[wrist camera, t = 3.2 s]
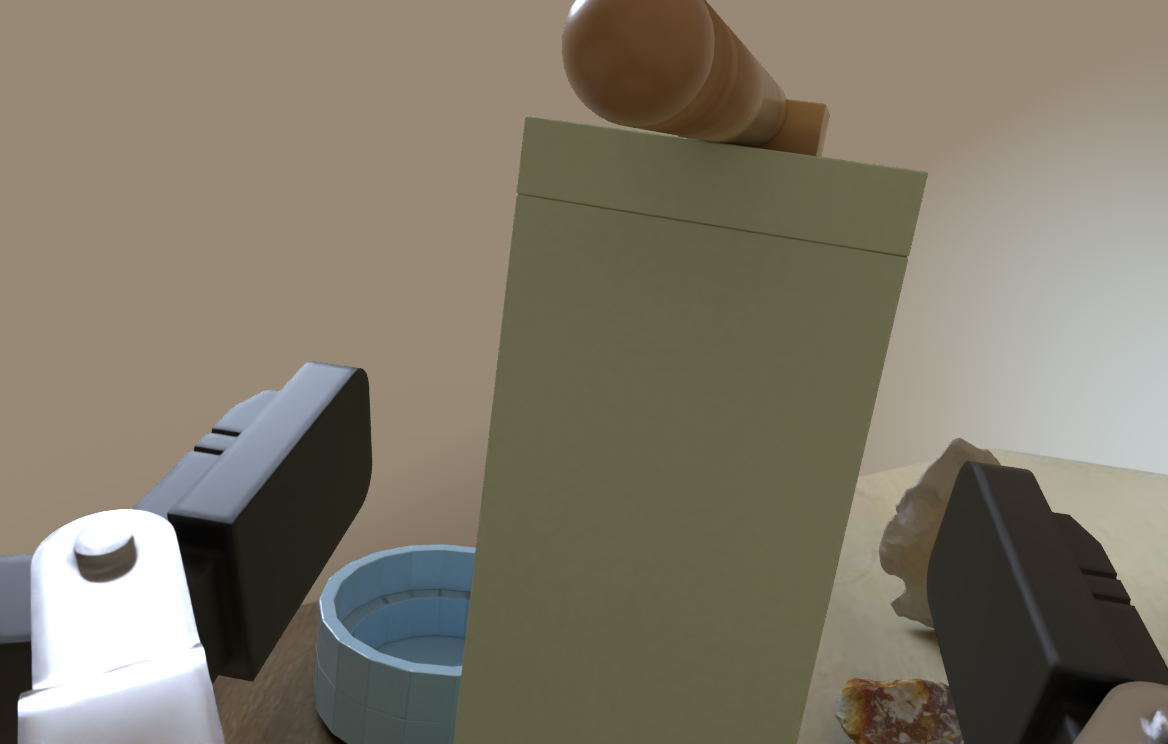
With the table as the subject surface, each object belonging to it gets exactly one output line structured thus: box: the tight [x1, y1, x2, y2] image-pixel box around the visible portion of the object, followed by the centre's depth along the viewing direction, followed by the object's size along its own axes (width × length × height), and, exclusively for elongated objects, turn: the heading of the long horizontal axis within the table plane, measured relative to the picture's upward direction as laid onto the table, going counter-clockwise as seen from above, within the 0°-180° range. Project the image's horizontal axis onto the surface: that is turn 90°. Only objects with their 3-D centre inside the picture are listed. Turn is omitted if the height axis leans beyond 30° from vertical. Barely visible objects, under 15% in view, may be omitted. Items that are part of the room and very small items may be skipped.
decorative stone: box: [835, 678, 964, 744], centre depth 51 cm, size 10×4×15 cm
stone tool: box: [879, 437, 1001, 629], centre depth 65 cm, size 11×4×15 cm, turn 88°
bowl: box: [313, 545, 476, 744], centre depth 50 cm, size 14×14×6 cm
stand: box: [453, 116, 928, 744], centre depth 32 cm, size 10×12×32 cm
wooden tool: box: [562, 0, 830, 157], centre depth 23 cm, size 23×4×2 cm, turn 164°
